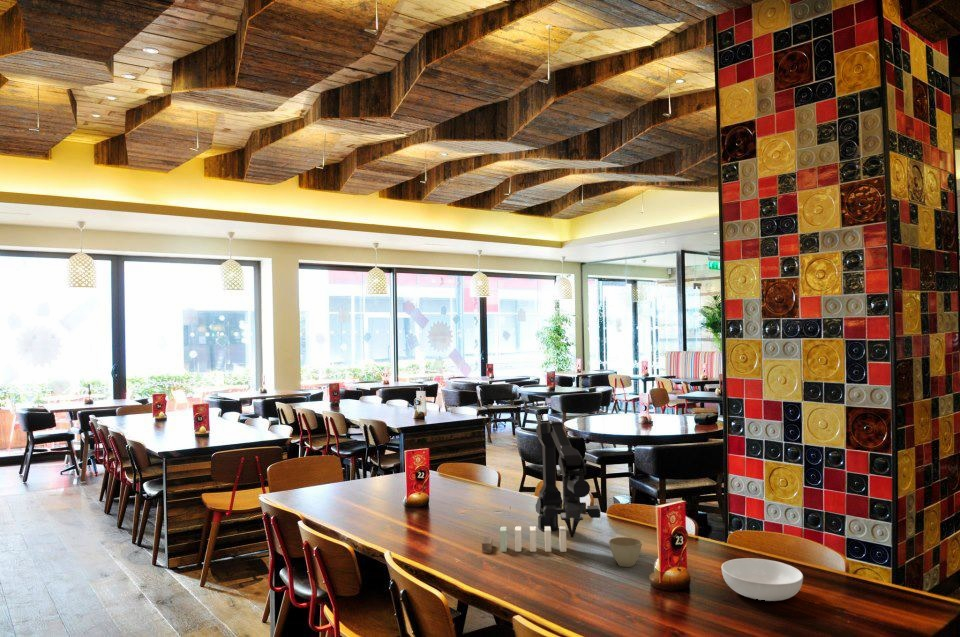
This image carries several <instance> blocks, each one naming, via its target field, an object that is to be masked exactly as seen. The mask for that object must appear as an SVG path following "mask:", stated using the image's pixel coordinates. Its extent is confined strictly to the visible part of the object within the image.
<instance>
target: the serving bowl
mask: <svg viewBox="0 0 960 637" xmlns="http://www.w3.org/2000/svg"><path fill="white" fill-rule="evenodd" d="M720 569H721V573H722V577H723V580H724V581H725V583H726V585H727V586H728V587H729V588H730V589H731V590H733V591H734V592H735V593H737V594H739V595H741V596H744V597H746V598H750V599H753V600H756V599H758V600H757V601H761V600H765V601H764V602H772V601H773V602H777V601H784V600H788V599H790V598H792V597H794V596H796V595H797V594H798V592H799V591H800V590H801V588H802V586H803V582H804V575H803V573H802V572H801V570H799V569H798V568H796V567H794V566H792V565H790V564H788V563H787V564H786V563H784V562H780V561H776V560H772V559H771V560H770V559H766V558H765V559H763V558H753V557H752V558H749V557H746V558H745V557H744V558H734V559H730V560H727V561H725V562H723V563H722V564H721V568H720Z"/></svg>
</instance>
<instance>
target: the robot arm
mask: <svg viewBox="0 0 960 637" xmlns="http://www.w3.org/2000/svg"><path fill="white" fill-rule="evenodd" d="M535 431H536V435H537V439H538V441H539V443H540V444H541V446H542V480H543V481H542V486H541V488H540V490H539V492H538V497H537V499H536V500H537V501H536V503H535V512H537V514H539V515H538V517H537V522H538V523H537V524H538V525H537V527H538V529H540V530H541V531H543V532H545V526H550V527H551V532H553V531H559V515H560V520H562V521H564V522H565V524H566V526H567V530H568V532H569V536H570V538H571V539H572V538H573V539H574V537H575V534H576V530H577V528H578V524H579V523H580V522H581V521H583V520H584V518H583V517H584V515H588V516H589V517H590V519H591V518H592V519H599V518H601V509H600V507H599V506H598V505H587V503H586V502H584V501H583V502H581V498H585V497H587V496H588V495H589V494H590V491H591V485H590V482H588V481H587V480H585V476H587V471H588V470H587V466H586V463H585V460H584V458H583V456H582V455H581V453H580V452H579V450H578V449H577V448H575V447H573V446H572V444H571V442H570V440H569V438H568V436H567V433H566V432H565V429H564V424H563V422H562V421H558V420H557V421H542V422H539V424H537V425H536V428H535ZM556 449H557V451H558V455H559V457H558V466H559V467H558V468H559V469H560V472H561V475H562V493H561V491H560V490H559V488H558V487H557V477H556V474H557V473H556V471H557V470H556ZM571 519H572V521H571ZM571 522H572V524H571Z"/></svg>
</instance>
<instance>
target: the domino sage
mask: <svg viewBox="0 0 960 637" xmlns="http://www.w3.org/2000/svg"><path fill="white" fill-rule="evenodd" d="M507 539H508V538H507V526H500V528H499V543H500V544H499V547H500V548H499V550H500V553H501V552H502V553H503V552H504V553H505V552H506V553H507V551H508V550H507V548H508V544H507V541H508V540H507Z"/></svg>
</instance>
